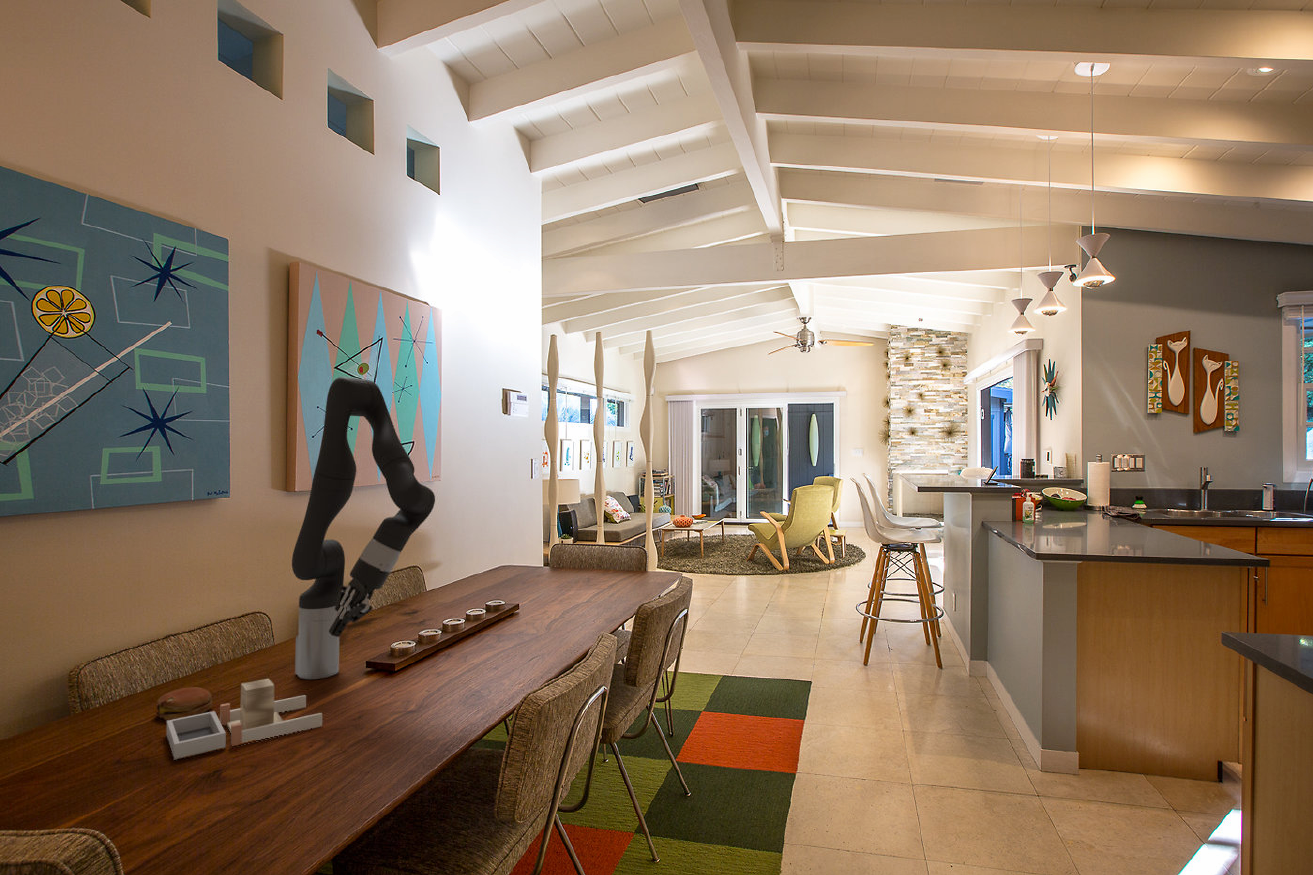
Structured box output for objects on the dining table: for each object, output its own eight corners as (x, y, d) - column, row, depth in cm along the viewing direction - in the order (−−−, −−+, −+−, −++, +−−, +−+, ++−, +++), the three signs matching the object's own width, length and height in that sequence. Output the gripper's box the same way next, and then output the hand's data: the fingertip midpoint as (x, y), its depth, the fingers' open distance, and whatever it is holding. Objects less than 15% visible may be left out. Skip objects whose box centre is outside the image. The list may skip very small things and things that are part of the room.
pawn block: (276, 717, 147) (277, 673, 147) (286, 731, 140) (287, 685, 140) (226, 728, 141) (227, 683, 141) (235, 743, 134) (236, 695, 134)
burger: (219, 703, 154) (219, 682, 154) (199, 720, 145) (200, 698, 145) (169, 706, 152) (169, 685, 152) (146, 723, 143) (147, 701, 143)
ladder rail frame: (304, 705, 153) (305, 687, 153) (322, 726, 142) (322, 706, 142) (219, 724, 143) (220, 704, 143) (231, 747, 132) (232, 726, 132)
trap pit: (214, 725, 142) (214, 711, 142) (225, 748, 131) (225, 732, 131) (166, 736, 137) (166, 720, 137) (174, 760, 126) (174, 744, 126)
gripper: (349, 548, 158) (307, 618, 154) (374, 567, 148) (329, 642, 145) (377, 559, 163) (336, 628, 159) (402, 578, 154) (360, 651, 150)
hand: (333, 634), depth 152 cm, fingers closed
